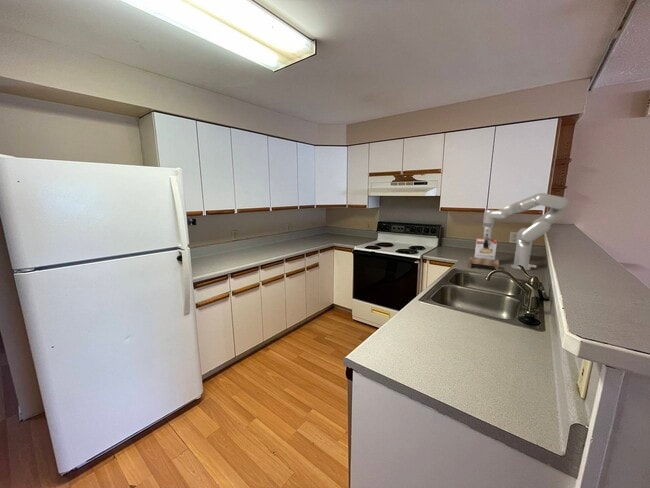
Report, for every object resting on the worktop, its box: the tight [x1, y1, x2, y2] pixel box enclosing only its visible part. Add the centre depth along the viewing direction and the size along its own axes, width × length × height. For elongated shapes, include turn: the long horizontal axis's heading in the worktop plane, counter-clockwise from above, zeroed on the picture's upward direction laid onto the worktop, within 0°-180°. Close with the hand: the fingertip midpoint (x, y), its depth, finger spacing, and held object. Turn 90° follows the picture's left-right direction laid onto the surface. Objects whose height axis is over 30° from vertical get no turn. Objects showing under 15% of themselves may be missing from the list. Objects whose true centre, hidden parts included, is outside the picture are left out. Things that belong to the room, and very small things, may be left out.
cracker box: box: [473, 238, 498, 260], centre depth 218 cm, size 14×6×21 cm, turn 70°
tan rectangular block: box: [467, 256, 500, 270], centre depth 209 cm, size 20×14×6 cm
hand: (485, 246), depth 218 cm, fingers closed on cracker box, 6 cm apart
